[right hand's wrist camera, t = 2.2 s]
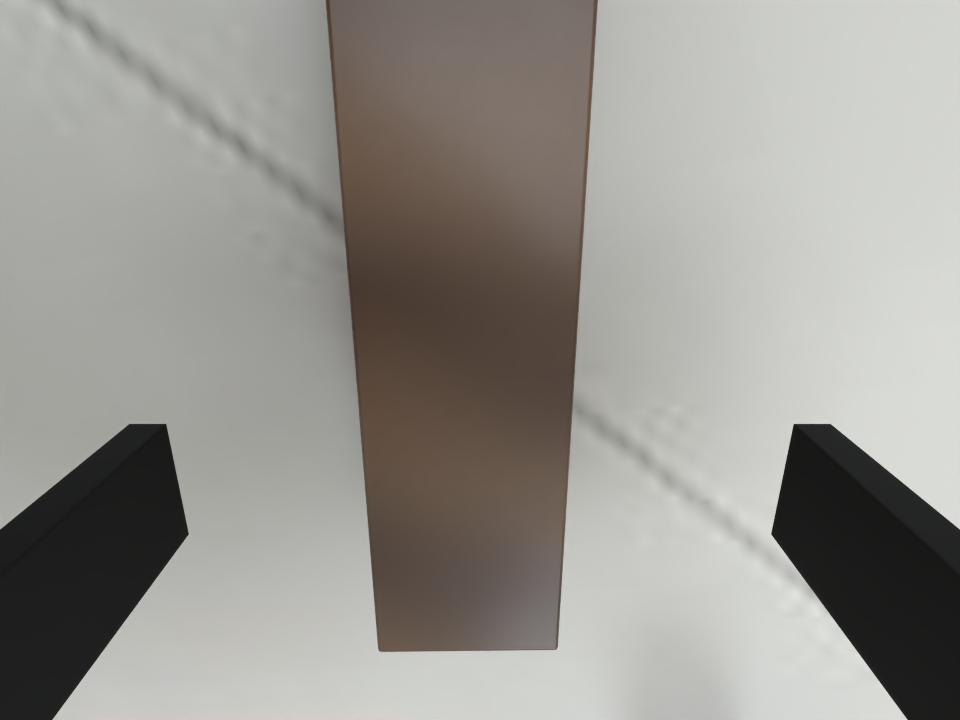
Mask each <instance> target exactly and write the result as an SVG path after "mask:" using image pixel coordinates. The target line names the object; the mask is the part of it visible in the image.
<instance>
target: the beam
mask: <svg viewBox="0 0 960 720" xmlns="http://www.w3.org/2000/svg"><path fill="white" fill-rule="evenodd" d="M597 4H598V0H326V9H327V21H328V33H329V46H330V58H331V70H332V83H333V95H334V108H335V120H336V132H337V145H338V157H339V169H340V182H341V194H342V207H343V219H344V231H345V244H346V256H347V268H348V281H349V293H350V306H351V318H352V330H353V343H354V355H355V367H356V380H357V392H358V405H359V417H360V429H361V442H362V454H363V466H364V479H365V491H366V504H367V516H368V528H369V541H370V553H371V565H372V578H373V590H374V603H375V615H376V627H377V640H378V649H379V651H380V652H407V651H492V650H555V649H557V647H558V633H559V617H560V601H561V585H562V569H563V553H564V536H565V520H566V504H567V488H568V472H569V456H570V440H571V423H572V407H573V391H574V375H575V359H576V343H577V327H578V310H579V294H580V278H581V262H582V246H583V230H584V214H585V197H586V181H587V165H588V149H589V133H590V117H591V100H592V84H593V68H594V52H595V36H596V20H597Z"/></svg>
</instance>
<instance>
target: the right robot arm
mask: <svg viewBox="0 0 960 720" xmlns="http://www.w3.org/2000/svg"><path fill="white" fill-rule="evenodd" d="M188 534H189V533H188V528H187V524H186V519H185V514H184V509H183V504H182V499H181V494H180V489H179V485H178V480H177V475H176V470H175V465H174V460H173V455H172V450H171V446H170V441H169V436H168V431H167V426H166V424H129V425H128V426H127V427H125V428H124V429H123V430H122V431H120V432H119V433H118V434H117V435H116V436H114V437H113V438H112V439H111V440H109V441H108V442H107V443H106V444H105V445H103V446H102V447H101V448H100V449H98V450H97V451H96V452H95V453H94V454H92V455H91V456H90V457H89V458H87V459H86V460H85V461H84V462H82V463H81V464H80V465H79V466H78V467H76V468H75V469H74V470H73V471H71V472H70V473H69V474H68V475H67V476H65V477H64V478H63V479H62V480H60V481H59V482H58V483H57V484H56V485H54V486H53V487H52V488H51V489H49V490H48V491H47V492H46V493H45V494H43V495H42V496H41V497H40V498H38V499H37V500H36V501H35V502H34V503H32V504H31V505H30V506H29V507H27V508H26V509H25V510H24V511H22V512H21V513H20V514H19V515H18V516H16V517H15V518H14V519H13V520H11V521H10V522H9V523H8V524H7V525H5V526H4V527H3V528H2V529H0V720H52V719H53V718H54V717H55V715H56V714H57V713H58V711H59V710H60V709H61V707H62V706H63V704H64V703H65V702H66V700H67V699H68V698H69V696H70V695H71V694H72V692H73V691H74V690H75V688H76V687H77V685H78V684H79V683H80V681H81V680H82V679H83V677H84V676H85V675H86V673H87V672H88V670H89V669H90V668H91V666H92V665H93V664H94V662H95V661H96V660H97V658H98V657H99V655H100V654H101V653H102V651H103V650H104V649H105V647H106V646H107V645H108V643H109V642H110V641H111V639H112V638H113V636H114V635H115V634H116V632H117V631H118V630H119V628H120V627H121V626H122V624H123V623H124V621H125V620H126V619H127V617H128V616H129V615H130V613H131V612H132V611H133V609H134V608H135V607H136V605H137V604H138V602H139V601H140V600H141V598H142V597H143V596H144V594H145V593H146V592H147V590H148V589H149V587H150V586H151V585H152V583H153V582H154V581H155V579H156V578H157V577H158V575H159V574H160V573H161V571H162V570H163V568H164V567H165V566H166V564H167V563H168V562H169V560H170V559H171V558H172V556H173V555H174V553H175V552H176V551H177V549H178V548H179V547H180V545H181V544H182V543H183V541H184V540H185V539H186V537H187V536H188ZM771 534H772V536H773V537H774V539H775V540H776V541H777V543H778V544H779V545H780V547H781V548H782V549H783V551H784V552H785V553H786V555H787V556H788V558H789V559H790V560H791V562H792V563H793V564H794V566H795V567H796V568H797V570H798V571H799V573H800V574H801V575H802V577H803V578H804V579H805V581H806V582H807V583H808V585H809V586H810V587H811V589H812V590H813V592H814V593H815V594H816V596H817V597H818V598H819V600H820V601H821V602H822V604H823V605H824V607H825V608H826V609H827V611H828V612H829V613H830V615H831V616H832V617H833V619H834V620H835V621H836V623H837V624H838V626H839V627H840V628H841V630H842V631H843V632H844V634H845V635H846V636H847V638H848V639H849V641H850V642H851V643H852V645H853V646H854V647H855V649H856V650H857V651H858V653H859V654H860V655H861V657H862V658H863V660H864V661H865V662H866V664H867V665H868V666H869V668H870V669H871V670H872V672H873V673H874V675H875V676H876V677H877V679H878V680H879V681H880V683H881V684H882V685H883V687H884V688H885V690H886V691H887V692H888V694H889V695H890V696H891V698H892V699H893V700H894V702H895V703H896V704H897V706H898V707H899V709H900V710H901V711H902V713H903V714H904V715H905V717H906V718H907V719H908V720H960V529H958V528H957V527H956V526H955V525H953V524H952V523H951V522H950V521H949V520H947V519H946V518H945V517H944V516H942V515H941V514H940V513H939V512H938V511H936V510H935V509H934V508H933V507H931V506H930V505H929V504H928V503H926V502H925V501H924V500H923V499H922V498H920V497H919V496H918V495H917V494H915V493H914V492H913V491H912V490H911V489H909V488H908V487H907V486H906V485H904V484H903V483H902V482H901V481H900V480H898V479H897V478H896V477H895V476H893V475H892V474H891V473H890V472H889V471H887V470H886V469H885V468H884V467H882V466H881V465H880V464H879V463H878V462H876V461H875V460H874V459H873V458H871V457H870V456H869V455H868V454H866V453H865V452H864V451H863V450H862V449H860V448H859V447H858V446H857V445H855V444H854V443H853V442H852V441H851V440H849V439H848V438H847V437H846V436H844V435H843V434H842V433H841V432H840V431H838V430H837V429H836V428H835V427H833V426H832V425H831V424H794V426H793V431H792V436H791V441H790V446H789V450H788V455H787V460H786V465H785V470H784V475H783V480H782V485H781V489H780V494H779V499H778V504H777V509H776V514H775V519H774V524H773V528H772V533H771Z"/></svg>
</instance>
